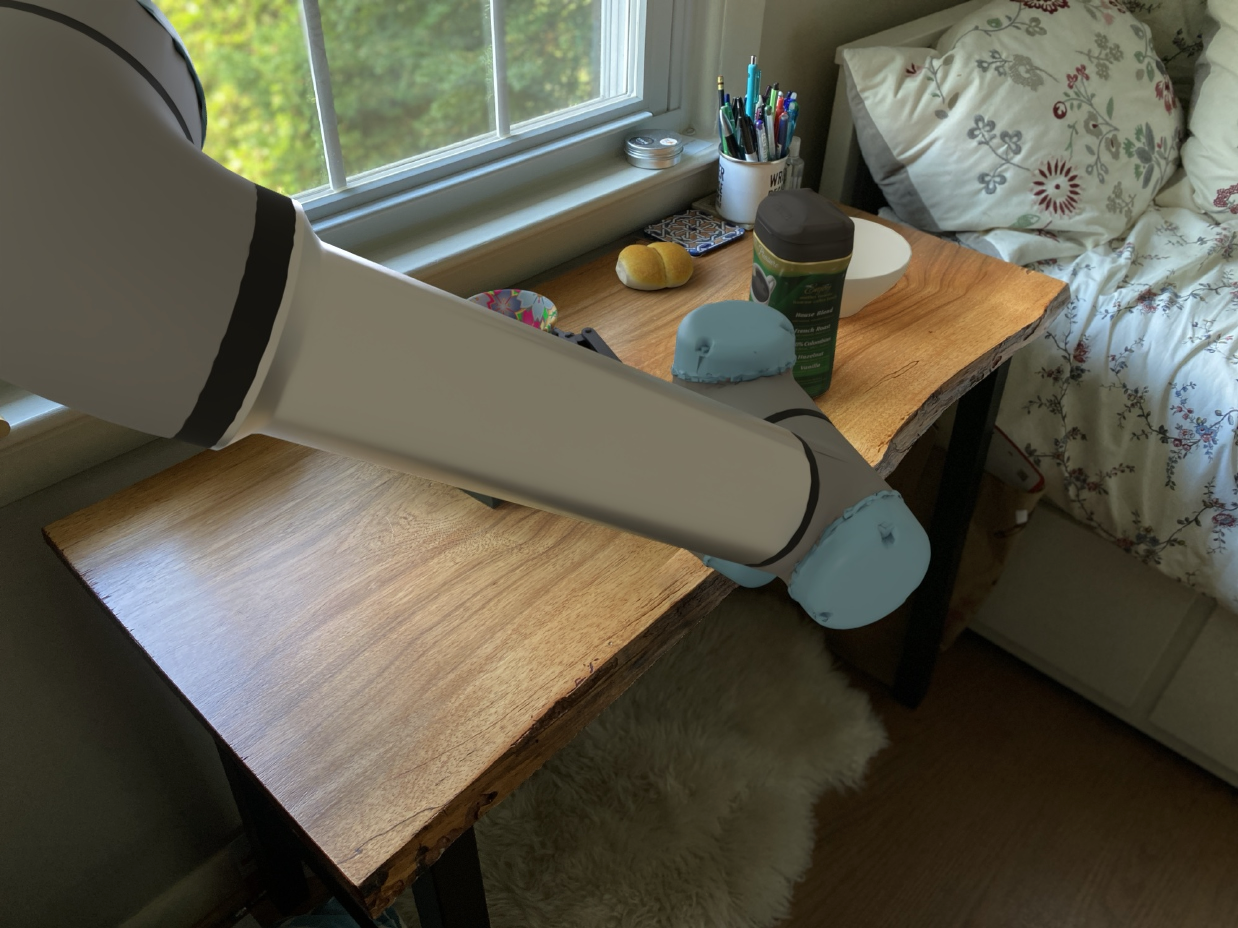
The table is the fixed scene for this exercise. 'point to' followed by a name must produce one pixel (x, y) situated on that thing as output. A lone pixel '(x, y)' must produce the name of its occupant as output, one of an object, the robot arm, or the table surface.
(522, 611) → the table surface
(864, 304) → the bowl
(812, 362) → the coffee jar
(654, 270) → the bread roll
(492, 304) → the mug
